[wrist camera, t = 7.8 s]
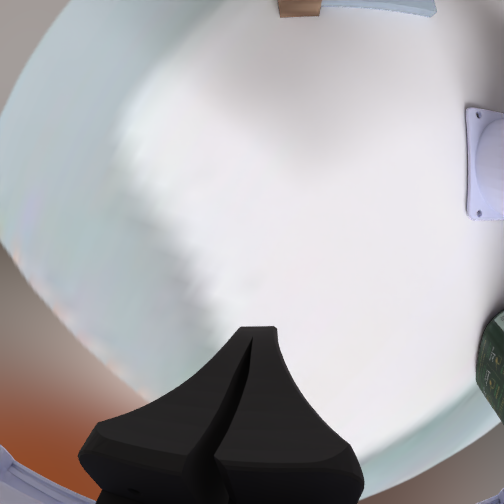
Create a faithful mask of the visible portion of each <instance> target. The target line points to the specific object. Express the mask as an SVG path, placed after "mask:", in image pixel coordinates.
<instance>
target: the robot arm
mask: <svg viewBox="0 0 504 504" xmlns="http://www.w3.org/2000/svg"><path fill="white" fill-rule="evenodd" d="M476 113H478V114H479V118H477V116H476ZM466 123H467V139H468V202H467V216H468V218H469V219H471V220H504V113H500V112H495V111H490V110H485V109H480V108H474V107H470V108H468V109H467V110H466ZM478 210H479V212H480V213H479V215H478V216H477V212H478ZM78 458H79V461H80V464H81V465H82V467H83V468H84V470H85V471H86V472H87V473H88V474H89V475H90V477H91V478H92V479H93V480H94V481H95V482H96V483H97V484H98V485H99V487H100V488H101V489H102V491H101V493H100V495H99V497H98V499H97V501H94V500H91V499H89V498H87V497H84V496H82V495H80V494H78V493H75V492H73V491H71V490H69V489H66V488H64V487H62V486H60V485H58V484H56V483H54V482H52V481H50V480H48V479H46V478H44V477H43V476H41V475H39V474H37V473H35V472H34V471H32V470H30V469H28V468H27V467H25V466H23V465H21V464H20V463H18V462H17V461H15V460H14V459H13V457H12V456H11V455H10V454H9V452H8V451H7V450H6V449H5V448H4V447H2V446H1V445H0V504H357V503H358V501H359V498H360V496H361V494H362V492H363V490H364V477H363V473H362V470H361V467H360V464H359V462H358V460H357V457H356V455H355V453H354V451H353V449H352V447H351V445H350V444H349V443H347V442H346V441H345V440H344V439H343V438H341V437H340V436H339V435H338V434H337V433H336V432H335V431H333V430H332V429H331V428H330V427H329V426H328V425H327V424H326V423H325V422H324V421H323V420H322V418H321V417H320V416H319V415H318V414H317V413H316V411H315V410H314V409H313V408H312V407H311V405H310V404H309V403H308V402H307V400H306V399H305V397H304V396H303V394H302V393H301V392H300V390H299V388H298V387H297V385H296V383H295V382H294V380H293V378H292V376H291V374H290V372H289V370H288V368H287V366H286V364H285V362H284V359H283V356H282V354H281V351H280V348H279V344H278V335H277V328H275V327H274V326H259V327H240V328H239V329H238V330H237V331H236V332H235V333H234V335H233V336H232V337H231V338H230V339H229V340H228V342H227V343H226V344H225V345H224V346H223V347H222V348H221V349H220V350H219V351H218V353H217V354H216V355H215V356H214V357H213V358H212V359H211V360H210V361H209V362H208V363H207V364H205V365H204V366H203V367H202V368H201V369H200V370H199V371H198V372H197V373H196V374H194V375H193V376H192V377H191V378H189V379H188V380H187V381H185V382H184V383H183V384H181V385H180V386H178V387H177V388H175V389H174V390H172V391H170V392H169V393H167V394H165V395H164V396H162V397H160V398H159V399H157V400H155V401H153V402H151V403H149V404H147V405H145V406H143V407H141V408H139V409H136V410H134V411H131V412H129V413H126V414H124V415H121V416H118V417H115V418H112V419H108V420H105V421H102V422H98V423H97V425H96V426H95V428H94V429H93V430H92V432H91V434H90V435H89V437H88V438H87V440H86V442H85V443H84V445H83V447H82V448H81V450H80V451H79V454H78ZM477 504H504V488H503V489H502V490H501V491H500V492H499V494H498V495H495V496H493V497H491V498H489V499H486V500H484V501H481V502H479V503H477Z"/></svg>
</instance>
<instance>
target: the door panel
mask: <svg viewBox="0 0 504 504" xmlns="http://www.w3.org/2000/svg"><path fill="white" fill-rule="evenodd" d="M321 6H327V7H355V8H368V9H379V10H388V11H396V12H403V13H409V14H415V15H421V16H426V17H431V16H433V15H434V14H435V13H436V12H437V9H436V6H435V2H434V0H322V3H321Z"/></svg>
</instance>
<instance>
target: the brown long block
mask: <svg viewBox="0 0 504 504" xmlns="http://www.w3.org/2000/svg"><path fill="white" fill-rule="evenodd" d="M321 3H322V0H278V5H279V11H280V18H282V17H301V16H319V13H320V8H321Z"/></svg>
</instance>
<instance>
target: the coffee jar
mask: <svg viewBox="0 0 504 504" xmlns="http://www.w3.org/2000/svg"><path fill="white" fill-rule="evenodd" d="M476 382H477V385H478V386H479V388H480V390H481V391H482V393H483V394H484V396H485V397H486V399H487V400H488V402H489V403H490V405H491V406H492V408H493V409H494V411H495V412H496V414H497V415H498V417H499V418H500V420H501V421H502V423H503V425H504V310H503V311H501V312H500V313H499V314H498V315H496V316H495V317H494V318H493V319H492V321H491V322H490V323H489V324H488V325H487V327H486V329H485V331H484V334H483V337H482V341H481V344H480V349H479V353H478V360H477V367H476Z"/></svg>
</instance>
